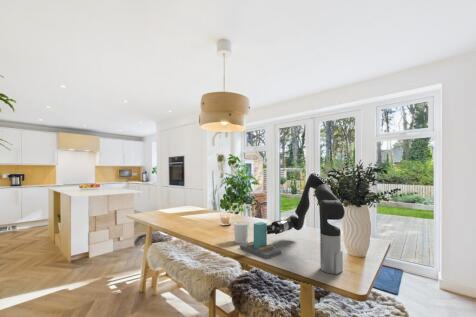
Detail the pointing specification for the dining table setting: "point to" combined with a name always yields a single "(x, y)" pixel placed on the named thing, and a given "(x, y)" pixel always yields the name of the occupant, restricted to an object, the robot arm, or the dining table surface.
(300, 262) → the dining table surface
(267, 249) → the display stand
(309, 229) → the dining table surface
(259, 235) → the long teal prism
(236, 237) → the candle holder
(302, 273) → the dining table surface
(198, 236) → the dining table surface
